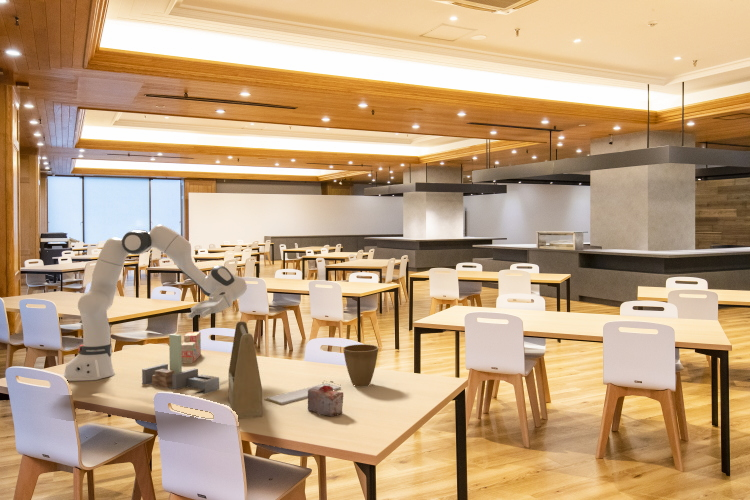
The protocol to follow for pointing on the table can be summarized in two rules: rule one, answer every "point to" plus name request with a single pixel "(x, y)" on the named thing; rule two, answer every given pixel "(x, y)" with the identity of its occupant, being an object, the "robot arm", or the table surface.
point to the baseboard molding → (296, 394)
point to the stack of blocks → (191, 347)
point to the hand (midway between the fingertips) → (195, 316)
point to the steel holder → (204, 383)
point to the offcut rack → (177, 378)
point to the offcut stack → (163, 378)
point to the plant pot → (360, 363)
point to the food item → (325, 400)
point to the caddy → (244, 375)
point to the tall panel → (175, 353)
